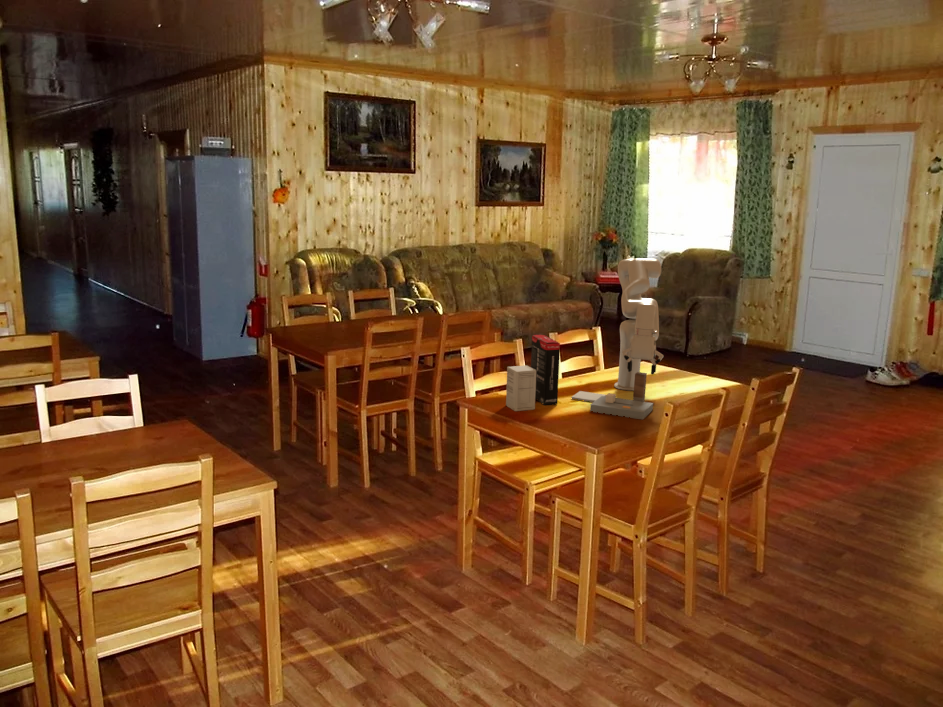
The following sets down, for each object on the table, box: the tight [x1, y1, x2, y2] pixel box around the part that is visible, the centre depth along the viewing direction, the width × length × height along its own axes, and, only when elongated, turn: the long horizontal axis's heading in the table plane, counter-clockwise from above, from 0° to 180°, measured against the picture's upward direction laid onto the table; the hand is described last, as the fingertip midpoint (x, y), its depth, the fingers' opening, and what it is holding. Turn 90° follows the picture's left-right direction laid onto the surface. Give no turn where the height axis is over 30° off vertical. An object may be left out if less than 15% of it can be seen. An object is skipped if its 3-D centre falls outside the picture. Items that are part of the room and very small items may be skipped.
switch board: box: [589, 396, 654, 421], centre depth 332 cm, size 16×22×3 cm
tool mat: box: [570, 390, 607, 403], centre depth 351 cm, size 12×12×1 cm
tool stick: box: [632, 371, 647, 402], centre depth 340 cm, size 4×4×14 cm
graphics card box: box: [530, 334, 561, 406], centre depth 342 cm, size 17×7×27 cm, turn 18°
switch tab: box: [605, 392, 617, 403], centre depth 334 cm, size 4×3×3 cm
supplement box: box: [505, 364, 536, 412], centre depth 331 cm, size 10×9×17 cm
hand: (641, 372), depth 338 cm, fingers open, 9 cm apart
